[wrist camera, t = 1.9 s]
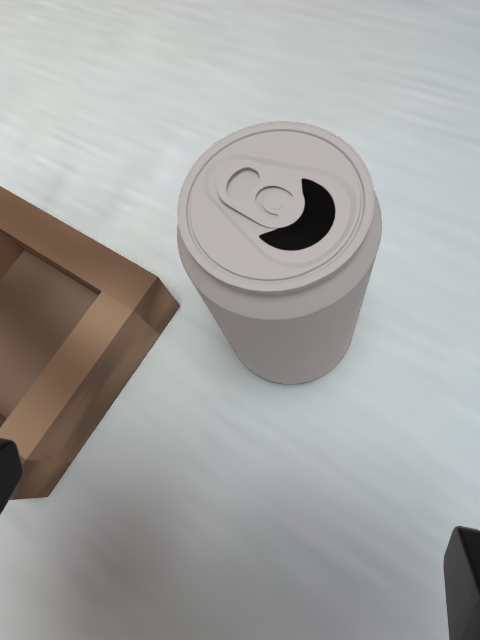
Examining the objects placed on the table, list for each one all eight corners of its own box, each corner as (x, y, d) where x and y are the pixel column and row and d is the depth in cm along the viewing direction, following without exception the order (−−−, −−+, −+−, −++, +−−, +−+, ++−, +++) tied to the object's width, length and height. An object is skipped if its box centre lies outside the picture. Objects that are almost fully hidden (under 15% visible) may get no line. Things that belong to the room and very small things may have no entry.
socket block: (47, 496, 23) (-4, 501, 19) (-96, 376, 26) (-163, 360, 23) (180, 305, 25) (157, 276, 21) (32, 219, 29) (-10, 180, 25)
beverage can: (308, 412, 22) (307, 349, 11) (207, 343, 24) (120, 231, 13) (374, 311, 24) (435, 162, 12) (274, 253, 25) (246, 79, 14)
